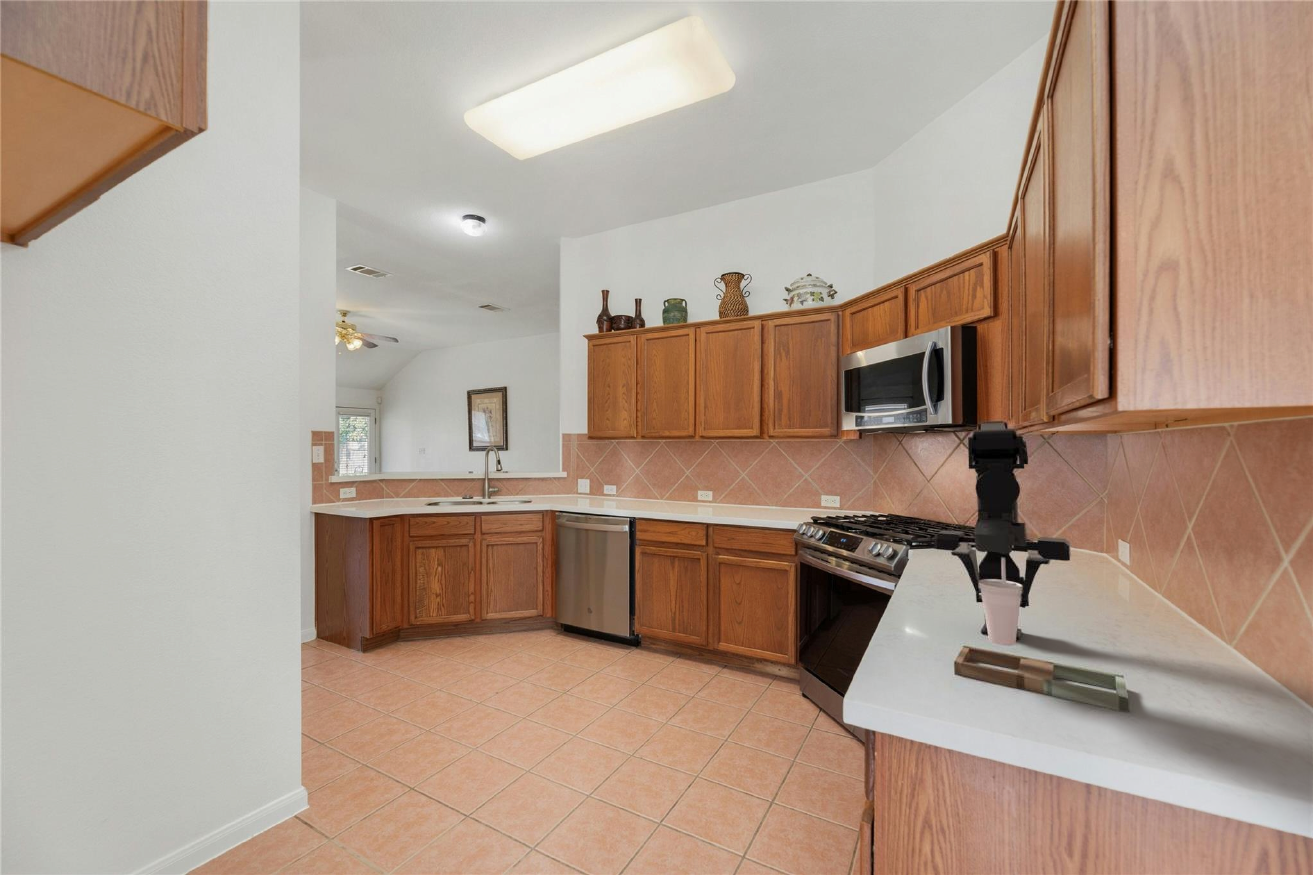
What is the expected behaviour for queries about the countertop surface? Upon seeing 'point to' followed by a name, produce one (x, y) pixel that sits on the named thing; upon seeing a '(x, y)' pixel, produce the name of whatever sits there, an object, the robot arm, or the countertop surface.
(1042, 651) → the countertop surface
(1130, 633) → the countertop surface
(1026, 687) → the caddy
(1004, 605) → the smoothie
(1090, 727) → the countertop surface
